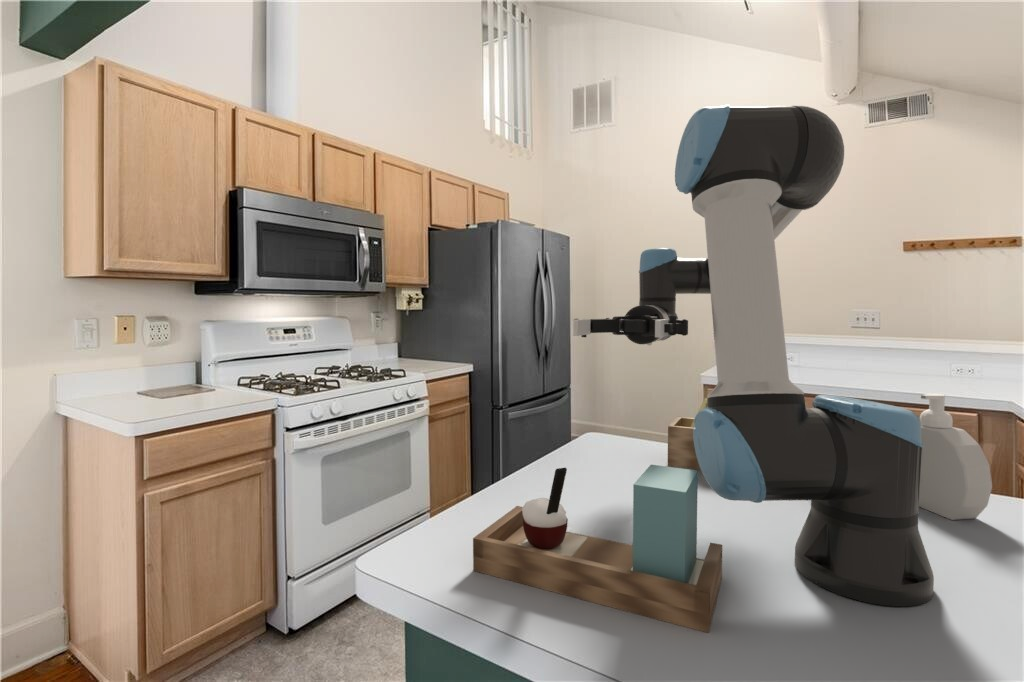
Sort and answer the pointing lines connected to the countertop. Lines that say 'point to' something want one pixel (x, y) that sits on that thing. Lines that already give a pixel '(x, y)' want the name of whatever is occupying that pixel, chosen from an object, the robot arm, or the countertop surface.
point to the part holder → (682, 444)
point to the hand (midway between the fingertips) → (614, 328)
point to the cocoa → (546, 516)
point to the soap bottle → (951, 466)
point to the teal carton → (665, 522)
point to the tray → (599, 573)
